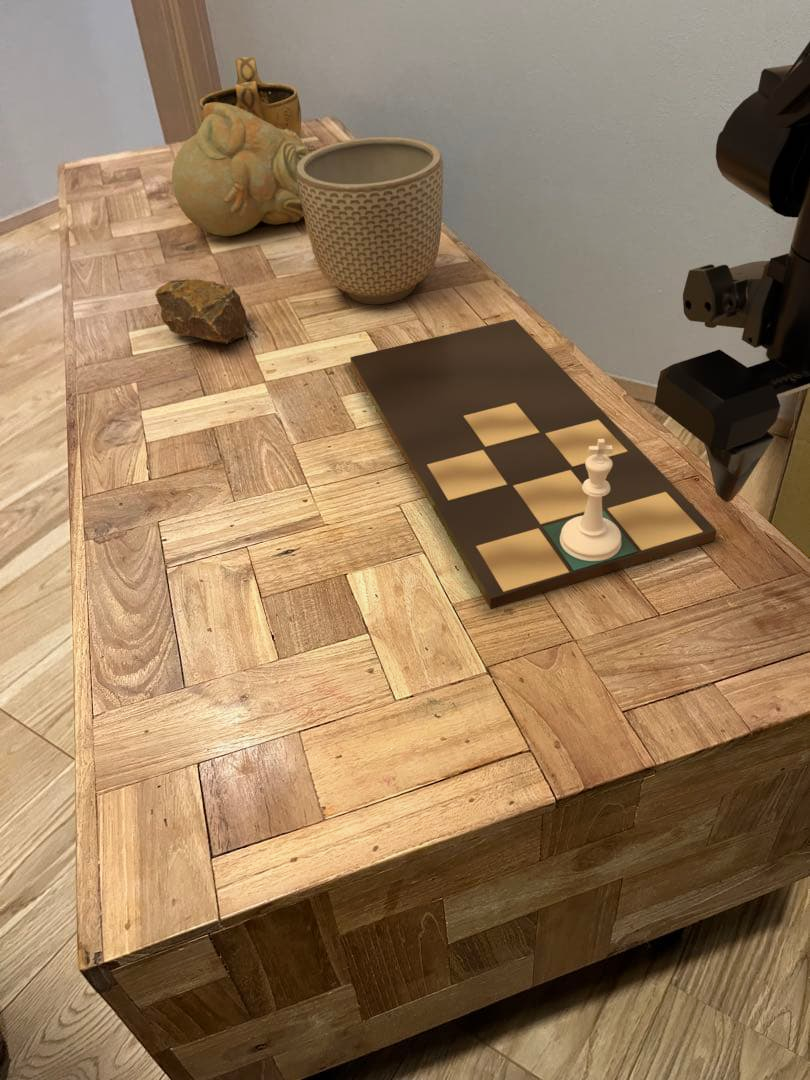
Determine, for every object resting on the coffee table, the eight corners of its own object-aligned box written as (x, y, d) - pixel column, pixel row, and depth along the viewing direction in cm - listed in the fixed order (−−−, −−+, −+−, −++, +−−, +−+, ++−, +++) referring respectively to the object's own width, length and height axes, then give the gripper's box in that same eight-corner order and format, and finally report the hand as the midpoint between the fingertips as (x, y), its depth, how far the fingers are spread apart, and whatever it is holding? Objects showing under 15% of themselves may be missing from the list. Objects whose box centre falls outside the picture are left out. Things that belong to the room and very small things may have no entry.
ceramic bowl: (311, 177, 139) (297, 78, 129) (211, 190, 138) (188, 91, 128) (304, 138, 156) (290, 47, 146) (214, 149, 155) (194, 58, 145)
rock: (175, 372, 94) (260, 353, 96) (160, 322, 90) (250, 303, 92) (163, 322, 104) (241, 306, 106) (150, 275, 100) (231, 259, 102)
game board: (714, 541, 68) (717, 529, 67) (490, 609, 64) (490, 597, 63) (514, 328, 96) (514, 317, 96) (351, 366, 93) (349, 356, 92)
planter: (400, 333, 97) (388, 196, 87) (287, 304, 105) (263, 175, 94) (472, 274, 108) (470, 145, 97) (364, 252, 115) (351, 129, 104)
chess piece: (626, 560, 65) (641, 459, 58) (563, 562, 65) (571, 462, 59) (616, 519, 69) (629, 419, 62) (556, 521, 69) (563, 422, 62)
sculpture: (244, 274, 115) (351, 184, 117) (142, 146, 107) (258, 51, 109) (227, 278, 131) (321, 199, 133) (137, 167, 123) (239, 84, 125)
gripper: (863, 170, 52) (800, 382, 63) (614, 237, 48) (592, 454, 58) (1025, 229, 45) (923, 459, 55) (748, 316, 40) (694, 550, 50)
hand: (779, 476), depth 55 cm, fingers open, 9 cm apart
